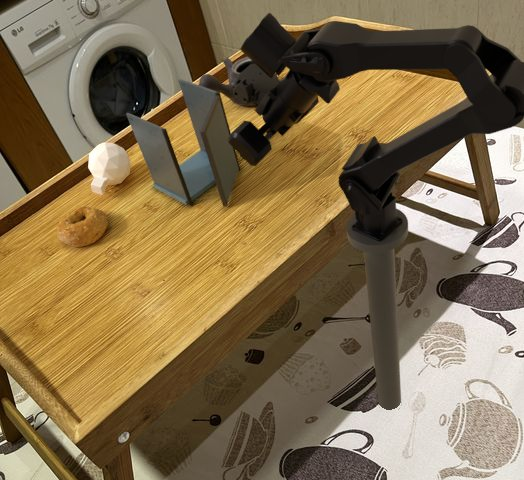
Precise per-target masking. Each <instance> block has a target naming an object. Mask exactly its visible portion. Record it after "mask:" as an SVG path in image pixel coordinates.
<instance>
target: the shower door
mask: <svg viewBox="0 0 524 480" xmlns="http://www.w3.org/2000/svg"><path fill="white" fill-rule="evenodd" d="M200 134H201V137H202V140H203V143H204V147H205V150H206V153H207V156H208V159H209V163H210V166H211V169H212V172H213V175H214V178H215V182H216V184H215V185H216V188H217V191H218V194H219V197H220V200H221V203H222V204H221V205H222V207H228V203H229V200H230V197H231V194H232V191H233V188H234V185H235V182H236V179H237V176H238V173H239V171H240V170H239V168H238V165H237V161H236V157H235V154H234V150H233V147H232V146H231V145H230V144H229V143H228V137H229V136H230V135H229V132H228V128H227V124H226V121H225V117H224V113H223V110H222V106H221V102H220V97H219V95H217V96H215V98H214V100H213V102H212V105H211V107H210V109H209V112H208V114H207V117H206V119H205V121H204V124H203V126H202V128H201V131H200Z"/></svg>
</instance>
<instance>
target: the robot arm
mask: <svg viewBox="0 0 524 480" xmlns="http://www.w3.org/2000/svg"><path fill="white" fill-rule="evenodd" d="M239 50H240V51H241V52H242V53H243V54H244V55H245V57H248V58H249V59H251V60H252V61H253V62H254V63H255V64H250V65H249V66H248V67H247V68H246V69H245V70H244V71H242V72H241V73H240V74H239V76H238V79H237V80H236V81H235V84H234V85H233V86H232V88H233V90H234V92H233V96H234V98H235V99H237V100H238V101H240V102H241V103H243V104H244V105H247V104H248V103H250V102H251V103H253V104H255V105H254V106H256V107H255V109H254V111H255V113H256V114H257V115H258V116H259V117H261V116H262V120H263V122H264V124H263V125H262V126H261V127H260V128H259V129H258V128H257V127H256V125H255V124H254V123H253V122H252V121H249V120H243V121H242V122H241V123H240V124H239V125H238V126H236V127H235V129H234V130H233V131H231V134H230V136H229V137H228V143H229V144H230V145H231V146H232V147H233V148H234V149H235V151H236V153H238V154H239V156H240V158H242V159H243V160H245V162H247V163H248V164H249V165H250V167H257V166H258V165H259V163H261V161H263V160H264V158H265V157H266V156H268V154H269V153H270V152H271V151H272V150H273V148H272V144H271V141H270V140H272V138H273V137H274V136H275V135H276V134H277V133H278V134H279V135H280V136H281V137H283V136H285V134H286V133H288V131H290V129H292V128H293V126H295V125H297V124H299V123H300V122H301V121H302V120H303V119H304V118H305V117H306V116H308V114H310V113H311V111H313V109H314V108H315V107H317V105H318V104H319V102H320V100H319V98H320V99H321V100H322V101H323V102H324V103H326V104H327V105H329V104H330V103H331V102H332V101H333V99H334V98H335V97H336V95H337V94H338V93H339V91H340V89H341V88H340V85H339V82H338V81H339V80H344V79H347V78H350V77H351V76H354V75H357V74H359V73H360V72H366V71H407V70H408V71H422V70H425V71H426V70H429V71H430V70H431V71H432V70H433V71H434V70H435V71H436V70H437V71H438V70H439V71H440V70H441V71H442V70H443V71H444V70H447V71H449V73H451V74H452V75H453V76H454V77H455V79H456V80H457V82H458V84H459V86H460V87H461V89H462V91H463V92H464V95H465V96H466V98H464V99H463V100H461V101H459V102H458V103H456V104H455V105H453V106H451V107H450V108H448V109H446V110H444V111H442V112H440V113H439V114H436V115H435V116H433V117H431V118H430V119H428V120H426V121H425V122H423V123H420V124H419V125H417V126H415V127H414V128H412V129H410V130H409V131H407V132H405V133H403V134H401V135H399V136H397V137H396V138H394V139H392V140H391V141H389V142H379V141H378V138H377V136H376V135H374V136H372V137H371V138H370V139H368V140H367V141H365V142H363V143H358V144H356V147H355V148H354V149H353V151H352V152H351V154H350V155H349V157H348V159H346V162H345V163H344V165H343V166H342V168H341V169H342V171H341V172H340V174H339V175H338V185H339V188H340V189H341V191H342V192H343V194H344V196H345V199H346V200H347V203H348V204H349V206H350V208H351V210H352V211H354V214H355V216H356V220H357V222H356V223H355V224H353V225H352V230H354V231H356V232H359V233H361V234H363V235H365V236H367V237H369V238H372V239H374V240H376V241H382V240H383V239H384V238H385V237H386V236H387V235H389V234H390V233H391V232H392V231H393V230H394V229H395V228H396V227H397V226H398V225H400V224H401V223H402V218H400V217H398V216H396V209H397V198H396V196H394V195H393V190H394V188H395V186H397V184H398V182H399V179H400V176H401V174H400V173H399V171H401V170H403V169H405V168H407V167H409V166H411V165H413V164H415V163H416V162H419V161H420V160H423V159H425V158H427V157H429V156H431V155H433V154H434V153H436V152H439V151H441V150H442V149H444V148H446V147H448V146H450V145H452V144H454V143H457V142H458V141H460V140H462V139H465V138H466V137H468V136H470V135H492V134H494V133H495V134H496V133H499V132H502V131H505V130H508V129H512V128H513V127H516V126H517V125H519V124H520V123H521V122H522V121H524V61H522V60H521V59H520V58H519V57H518V56H517V55H516V54H515V53H514V52H513V51H512V50H511V49H510V48H508V47H507V46H505V45H503V44H500V43H498V42H496V41H494V40H492V39H490V38H488V37H487V36H486V35H485V34H484V33H483V32H482V31H480V29H479V28H478V27H476V26H474V25H469V24H467V25H462V26H460V27H453V28H452V27H451V28H450V27H449V28H426V29H422V28H421V29H400V30H370V29H367V28H365V27H363V26H362V25H360V24H358V23H354V22H346V21H341V20H333V21H328V22H326V23H325V24H324V25H323V26H322V27H321V28H315V29H309V30H304V31H303V32H301V34H300V35H299V37H298V38H297V39H296V38H295V37H294V36H293V35H292V34H291V33H290V32H289V31H288V30H287V29H286V28H285V27H284V26H283V25H282V24H281V23H279V21H278V19H277V18H276V17H275V16H274V15H273V13H271V12H268V13H267V14H265V16H264V17H263V18H261V20H260V22H259V24H258V25H257V26H256V27H255V29H253V31H252V32H251V34H250V35H248V36H247V38H246V39H245V40H244V41H243V43H242V45H241V46H240V49H239ZM286 68H287V69H288V71H287V72H286V74H285V75H284V77H282V79H279V78H278V79H279V80H278V79H277V78H276V77H275V75H274V74H275V73H276V74H277V76H278V77H280V75H282V73H283V72H284V71H285V70H286ZM488 72H489V73H490V74H489V73H488ZM399 220H400V221H399Z"/></svg>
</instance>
